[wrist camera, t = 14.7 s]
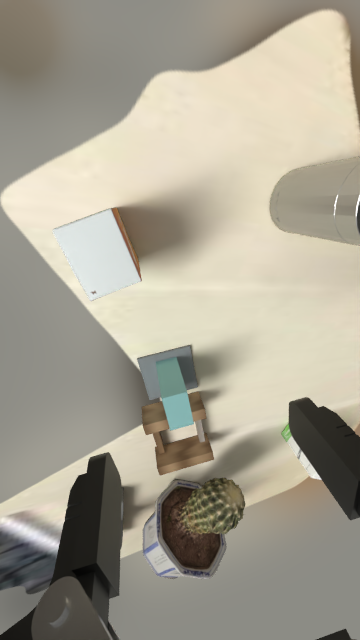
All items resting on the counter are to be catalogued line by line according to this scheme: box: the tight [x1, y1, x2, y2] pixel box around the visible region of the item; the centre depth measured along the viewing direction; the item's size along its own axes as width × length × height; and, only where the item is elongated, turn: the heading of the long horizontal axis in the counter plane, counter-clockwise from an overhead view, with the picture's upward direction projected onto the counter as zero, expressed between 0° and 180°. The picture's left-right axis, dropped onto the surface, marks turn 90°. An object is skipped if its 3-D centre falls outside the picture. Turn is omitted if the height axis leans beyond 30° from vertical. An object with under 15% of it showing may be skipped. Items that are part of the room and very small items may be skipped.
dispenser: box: [142, 392, 214, 475], centre depth 54 cm, size 12×15×5 cm
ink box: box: [281, 424, 322, 480], centre depth 59 cm, size 9×5×12 cm, turn 64°
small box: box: [53, 207, 142, 301], centre depth 32 cm, size 8×6×13 cm
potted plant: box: [143, 478, 245, 579], centre depth 56 cm, size 18×18×30 cm
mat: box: [137, 345, 198, 400], centre depth 50 cm, size 10×10×1 cm
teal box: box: [156, 357, 194, 431], centre depth 45 cm, size 4×7×10 cm, turn 10°
